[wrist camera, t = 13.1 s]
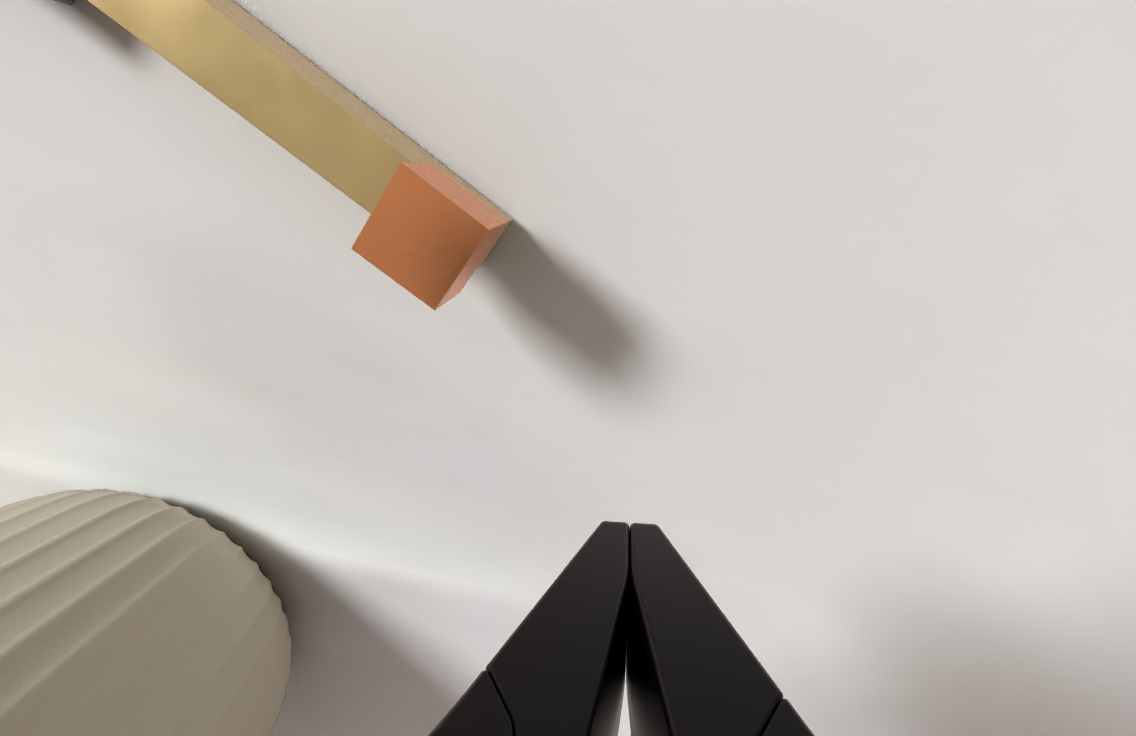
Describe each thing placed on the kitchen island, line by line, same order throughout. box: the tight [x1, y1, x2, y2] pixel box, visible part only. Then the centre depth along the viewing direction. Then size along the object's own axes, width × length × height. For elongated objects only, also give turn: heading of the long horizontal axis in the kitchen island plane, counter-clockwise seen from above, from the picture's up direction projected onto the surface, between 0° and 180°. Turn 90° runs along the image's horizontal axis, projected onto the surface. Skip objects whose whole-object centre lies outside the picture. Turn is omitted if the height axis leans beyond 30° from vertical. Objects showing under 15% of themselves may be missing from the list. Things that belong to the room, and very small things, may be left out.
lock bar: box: [88, 0, 513, 310], centre depth 13 cm, size 20×2×4 cm, turn 53°
